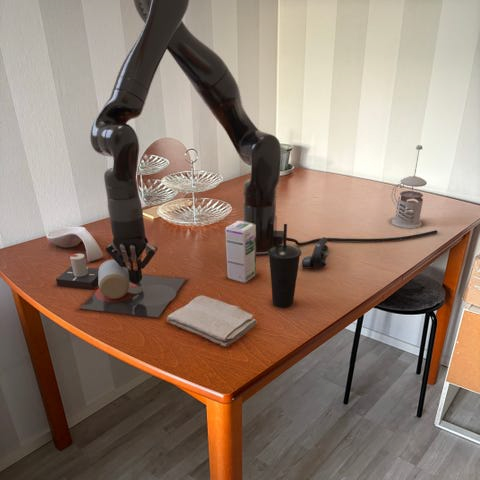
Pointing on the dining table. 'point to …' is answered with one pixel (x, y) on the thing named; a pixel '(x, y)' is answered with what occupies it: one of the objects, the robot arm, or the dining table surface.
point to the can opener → (317, 255)
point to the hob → (139, 298)
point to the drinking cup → (283, 272)
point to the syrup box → (241, 251)
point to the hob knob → (79, 265)
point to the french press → (409, 202)
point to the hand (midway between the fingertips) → (136, 282)
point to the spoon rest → (76, 240)
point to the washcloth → (213, 320)
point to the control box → (78, 279)
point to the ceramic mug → (115, 280)
